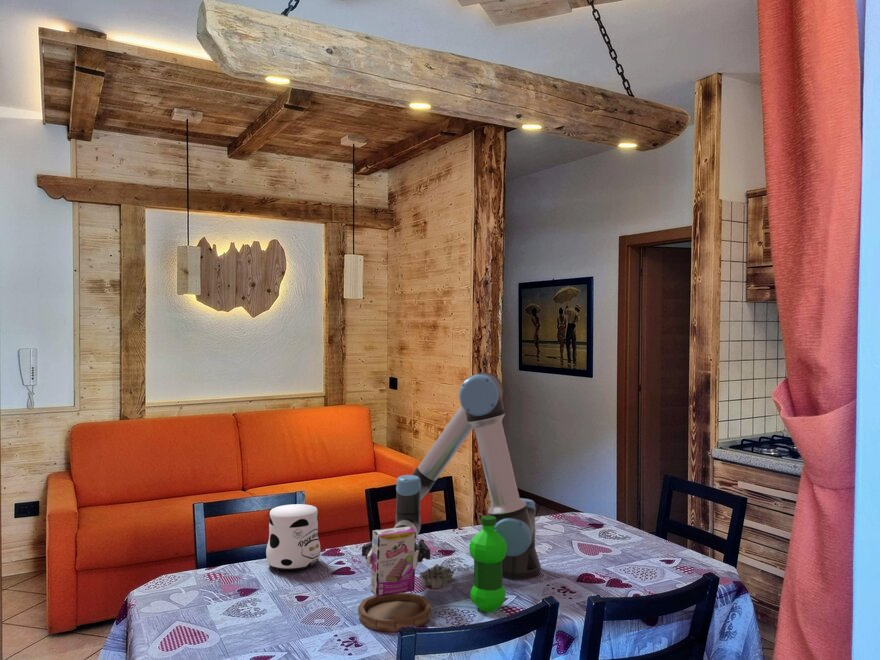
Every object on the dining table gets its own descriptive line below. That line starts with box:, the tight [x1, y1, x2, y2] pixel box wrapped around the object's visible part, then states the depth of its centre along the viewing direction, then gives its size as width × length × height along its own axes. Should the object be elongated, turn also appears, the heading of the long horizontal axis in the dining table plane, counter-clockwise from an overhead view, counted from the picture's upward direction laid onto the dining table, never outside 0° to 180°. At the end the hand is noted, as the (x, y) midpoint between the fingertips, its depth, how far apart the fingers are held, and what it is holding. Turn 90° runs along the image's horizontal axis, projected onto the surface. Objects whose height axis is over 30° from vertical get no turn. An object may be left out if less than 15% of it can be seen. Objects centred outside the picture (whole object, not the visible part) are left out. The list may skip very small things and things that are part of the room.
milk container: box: [265, 503, 321, 571], centre depth 218 cm, size 17×17×18 cm
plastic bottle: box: [469, 515, 507, 613], centre depth 185 cm, size 10×10×25 cm
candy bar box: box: [370, 527, 417, 597], centre depth 179 cm, size 11×5×16 cm, turn 116°
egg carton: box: [419, 563, 455, 589], centre depth 204 cm, size 11×8×4 cm
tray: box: [357, 592, 432, 633], centre depth 179 cm, size 19×19×3 cm
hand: (391, 562), depth 175 cm, fingers closed on candy bar box, 12 cm apart
